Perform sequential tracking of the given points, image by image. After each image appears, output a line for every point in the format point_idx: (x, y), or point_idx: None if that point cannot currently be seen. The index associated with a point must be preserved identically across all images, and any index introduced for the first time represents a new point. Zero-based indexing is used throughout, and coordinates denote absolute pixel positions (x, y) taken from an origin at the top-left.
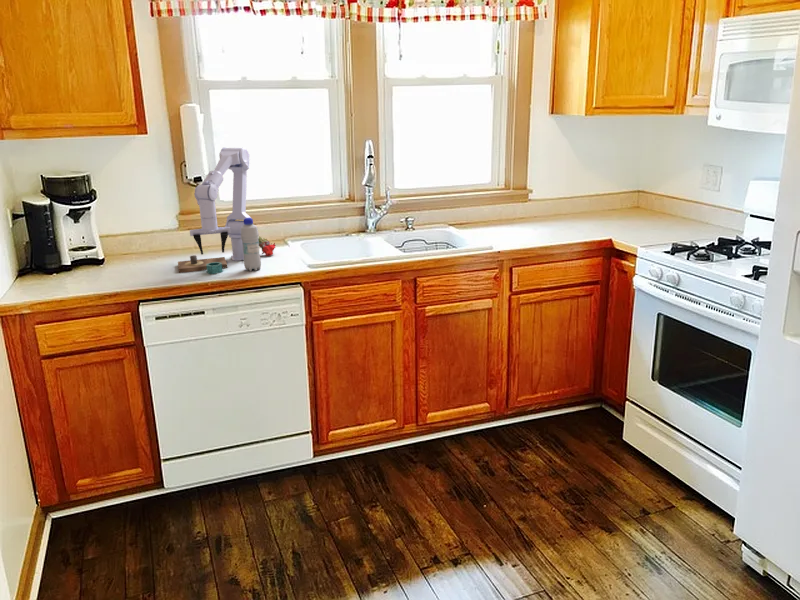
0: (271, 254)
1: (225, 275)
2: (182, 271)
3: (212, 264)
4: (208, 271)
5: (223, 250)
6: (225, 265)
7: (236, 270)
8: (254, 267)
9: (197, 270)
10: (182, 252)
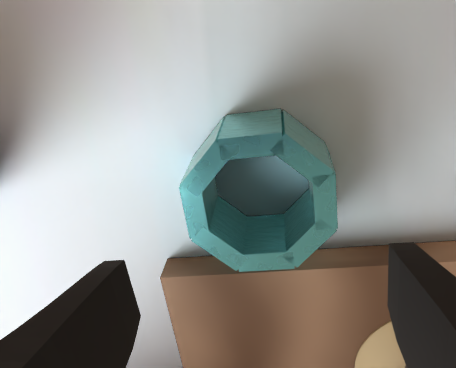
0: None
1: (152, 13)
2: None
3: (276, 243)
4: (316, 140)
5: (94, 272)
6: (175, 270)
7: (80, 161)
8: None
9: None
10: None
